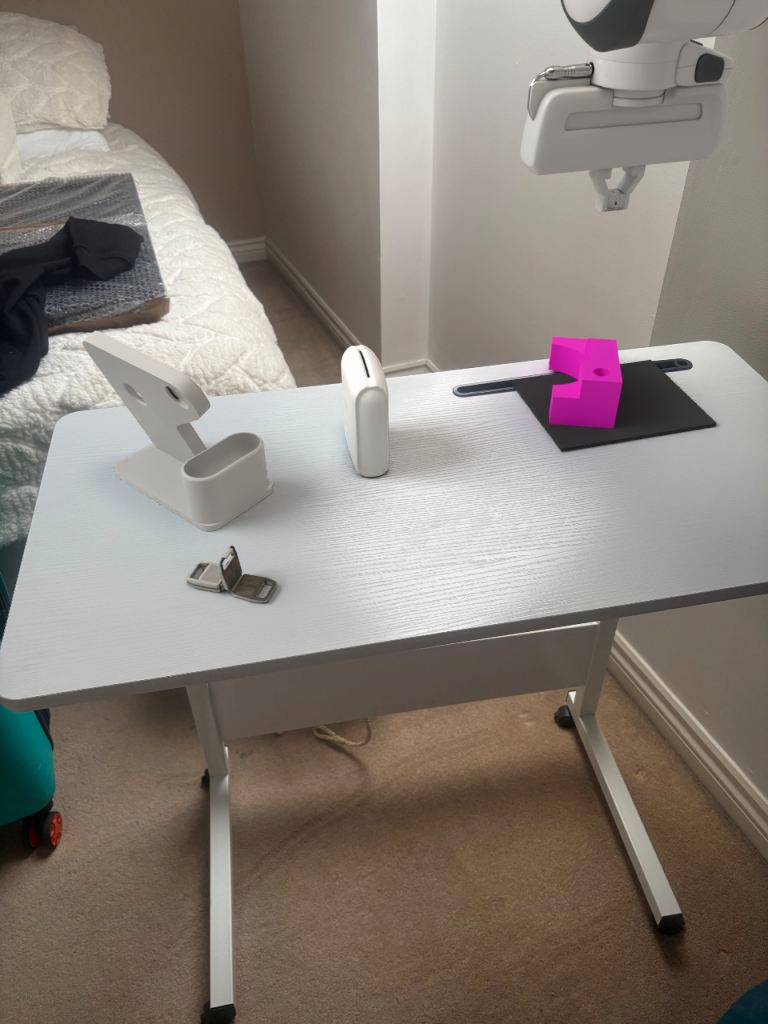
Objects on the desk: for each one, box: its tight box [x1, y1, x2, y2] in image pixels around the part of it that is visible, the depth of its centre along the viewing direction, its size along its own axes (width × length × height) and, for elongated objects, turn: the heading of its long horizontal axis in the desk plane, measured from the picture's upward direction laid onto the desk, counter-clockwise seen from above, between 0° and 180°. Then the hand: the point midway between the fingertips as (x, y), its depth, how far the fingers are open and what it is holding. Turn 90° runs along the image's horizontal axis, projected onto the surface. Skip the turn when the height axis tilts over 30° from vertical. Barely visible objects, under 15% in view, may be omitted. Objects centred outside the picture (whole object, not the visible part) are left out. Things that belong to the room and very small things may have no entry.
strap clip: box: [185, 545, 278, 603], centre depth 78 cm, size 8×3×4 cm, turn 72°
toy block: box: [548, 336, 622, 428], centre depth 103 cm, size 15×6×8 cm
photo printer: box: [340, 344, 390, 478], centre depth 92 cm, size 10×4×12 cm, turn 11°
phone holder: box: [82, 330, 274, 532], centre depth 86 cm, size 17×10×18 cm, turn 51°
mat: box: [510, 359, 717, 453], centre depth 103 cm, size 20×16×1 cm
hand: (610, 209), depth 86 cm, fingers closed
